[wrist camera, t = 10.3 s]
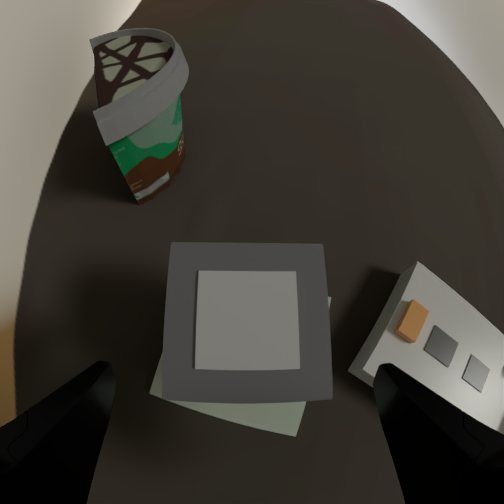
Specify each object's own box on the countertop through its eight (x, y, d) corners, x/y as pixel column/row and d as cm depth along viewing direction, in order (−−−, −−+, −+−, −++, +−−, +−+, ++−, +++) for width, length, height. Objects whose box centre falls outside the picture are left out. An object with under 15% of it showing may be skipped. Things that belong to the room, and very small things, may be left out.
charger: (286, 387, 16) (333, 398, 8) (200, 387, 16) (160, 399, 7) (284, 306, 18) (323, 242, 10) (202, 305, 18) (170, 241, 9)
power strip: (523, 377, 16) (546, 373, 13) (490, 458, 13) (514, 461, 10) (400, 274, 20) (422, 257, 17) (347, 370, 17) (366, 368, 14)
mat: (294, 435, 15) (295, 436, 15) (151, 392, 16) (149, 393, 15) (329, 298, 19) (331, 297, 18) (196, 261, 19) (195, 259, 19)
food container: (222, 190, 22) (215, 76, 13) (144, 221, 20) (93, 118, 11) (177, 100, 26) (163, 13, 17) (118, 122, 25) (89, 37, 16)
